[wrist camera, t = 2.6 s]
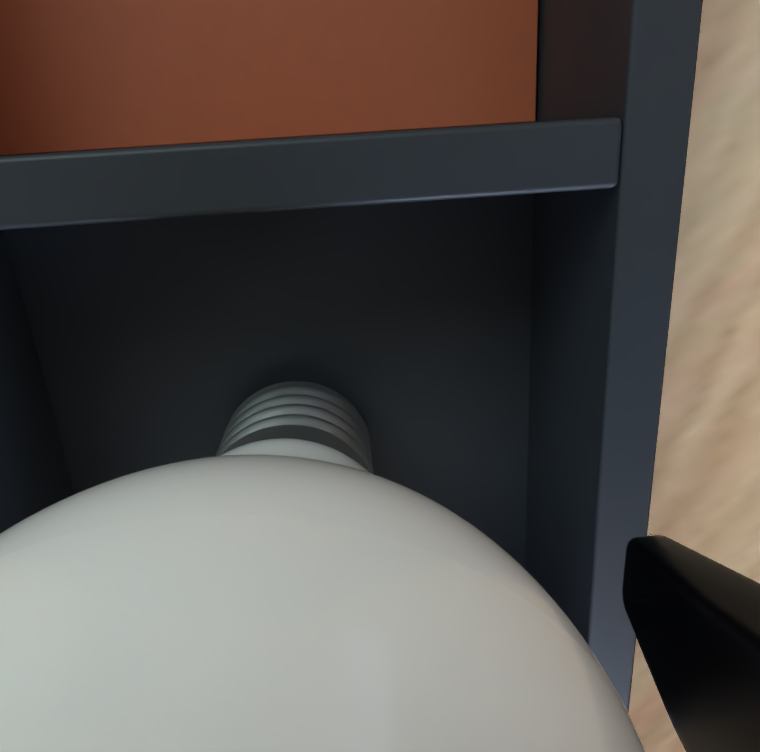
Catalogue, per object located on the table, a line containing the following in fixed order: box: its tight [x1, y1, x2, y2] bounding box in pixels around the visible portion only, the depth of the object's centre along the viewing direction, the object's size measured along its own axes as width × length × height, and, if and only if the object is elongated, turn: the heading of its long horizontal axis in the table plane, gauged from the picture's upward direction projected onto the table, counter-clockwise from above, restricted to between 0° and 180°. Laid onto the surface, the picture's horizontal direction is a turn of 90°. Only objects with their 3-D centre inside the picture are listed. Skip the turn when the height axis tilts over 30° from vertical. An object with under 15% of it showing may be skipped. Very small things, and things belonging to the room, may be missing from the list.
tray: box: [0, 0, 703, 712], centre depth 9 cm, size 11×20×4 cm, turn 3°
